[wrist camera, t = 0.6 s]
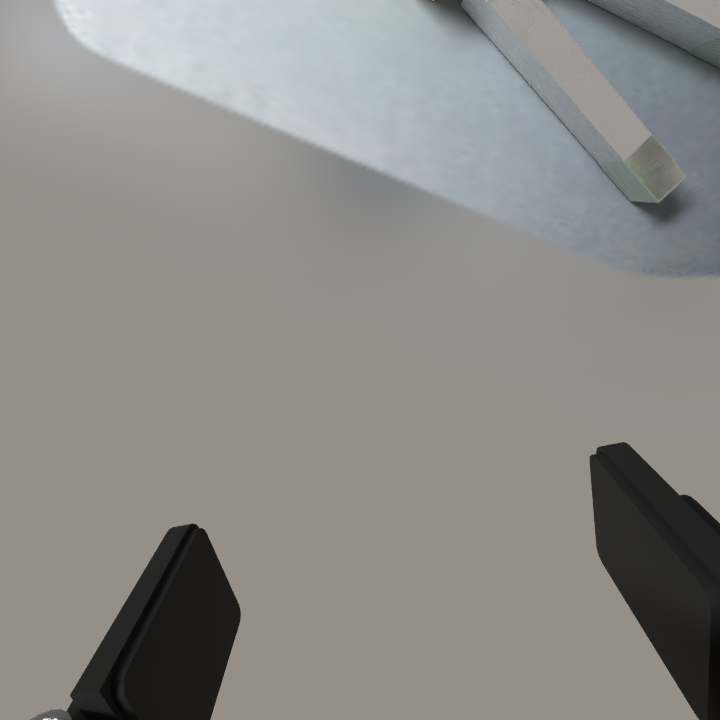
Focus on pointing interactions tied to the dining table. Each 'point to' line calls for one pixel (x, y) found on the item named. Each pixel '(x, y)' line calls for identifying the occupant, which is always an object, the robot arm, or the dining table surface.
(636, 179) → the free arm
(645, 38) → the dining table surface
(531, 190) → the dining table surface
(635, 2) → the bar
